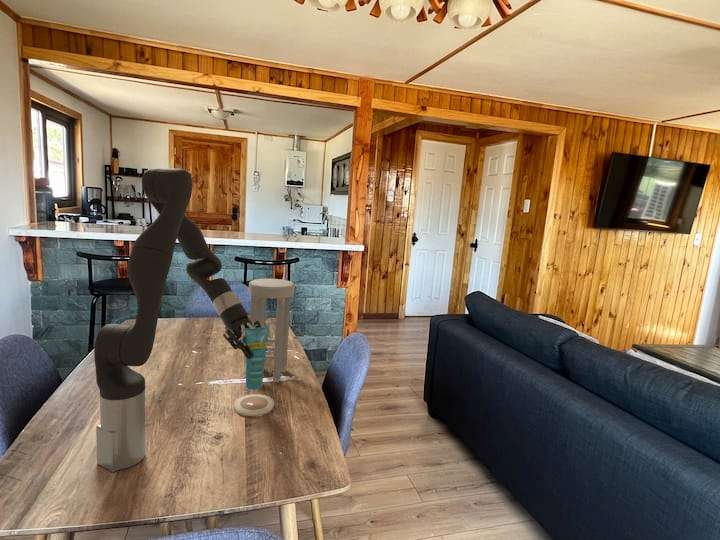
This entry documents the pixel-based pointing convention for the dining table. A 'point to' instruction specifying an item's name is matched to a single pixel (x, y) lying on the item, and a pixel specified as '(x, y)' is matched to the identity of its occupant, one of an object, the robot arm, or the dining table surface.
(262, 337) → the tube
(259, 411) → the coaster
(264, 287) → the stool
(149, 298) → the robot arm
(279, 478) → the dining table surface
